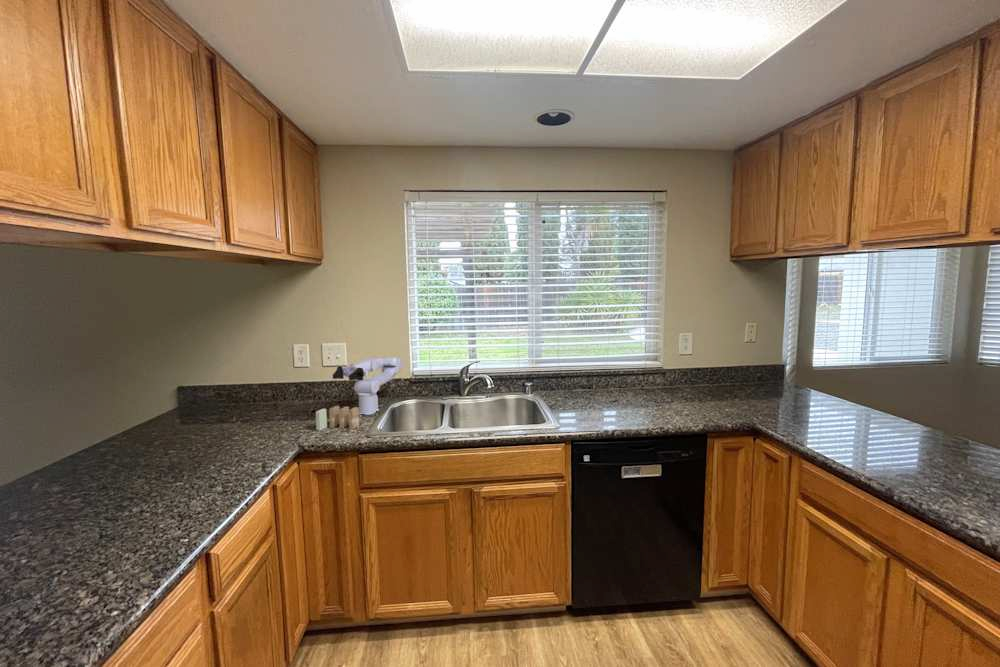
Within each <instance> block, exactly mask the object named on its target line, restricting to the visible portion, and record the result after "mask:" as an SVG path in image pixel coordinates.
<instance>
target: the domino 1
mask: <svg viewBox="0 0 1000 667" xmlns="http://www.w3.org/2000/svg"><path fill="white" fill-rule="evenodd" d="M327 415H328V414H327V408H321V409H319V410H317V411H315V426H316V427H315V428H316V429H315V430H319V431H318V432H321V431H323V430H325V429H326V428H328V420H327ZM324 428H325V429H324ZM322 429H323V430H322ZM320 430H321V431H320Z"/></svg>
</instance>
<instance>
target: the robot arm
mask: <svg viewBox="0 0 1000 667" xmlns="http://www.w3.org/2000/svg"><path fill="white" fill-rule="evenodd" d="M402 361H403V362H404V360H403V358H402V357H388V356H387V357H382V358H381V357H379V356H376V355H375V356H374V357H370V358H367V359H366V358H365V359H364V358H362V359H361V360H360V361H359V362H358V363H353V362H351V363H350V365H349V366H345V367H344V368H343V366H337V367H336V370H335V371H334V373H333V374H332V379H333V380H338V379H339V380H343V379H344V377H347V378H348V381H355V383H354V386H353V389H354V392H355V393H356V394H357V395H356V396H358V407H359V415H361V414H365V416H371V414H372V415H373V414H375V413H376V411H377V412H378V411H380V410H379V409H380V408H379V397H378V395H377V392H378V391H379V390H380V386H383V385H385V384H386V383H388V382H389V381H391V380H393V379H394V378H395V376H396V375H397V373H399V372H401V371H402V370H403V367H404V363H403V364H402ZM379 369H381V371H380V372H381V373H379V374H377V375H375V376H372V377H370V378H368V379H367V378H366V379H364V377H367V376H369V372H376V371H377V370H379Z"/></svg>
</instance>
